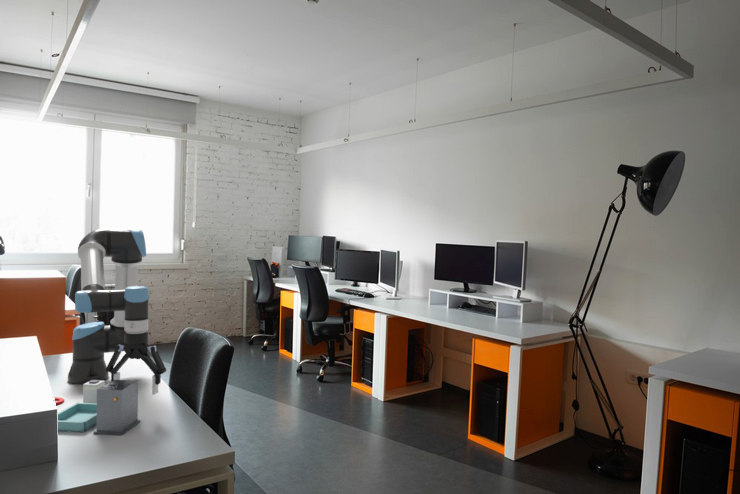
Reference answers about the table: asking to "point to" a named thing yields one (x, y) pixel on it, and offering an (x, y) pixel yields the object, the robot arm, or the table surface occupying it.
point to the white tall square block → (91, 390)
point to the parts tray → (78, 417)
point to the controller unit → (117, 407)
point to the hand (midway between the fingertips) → (135, 392)
